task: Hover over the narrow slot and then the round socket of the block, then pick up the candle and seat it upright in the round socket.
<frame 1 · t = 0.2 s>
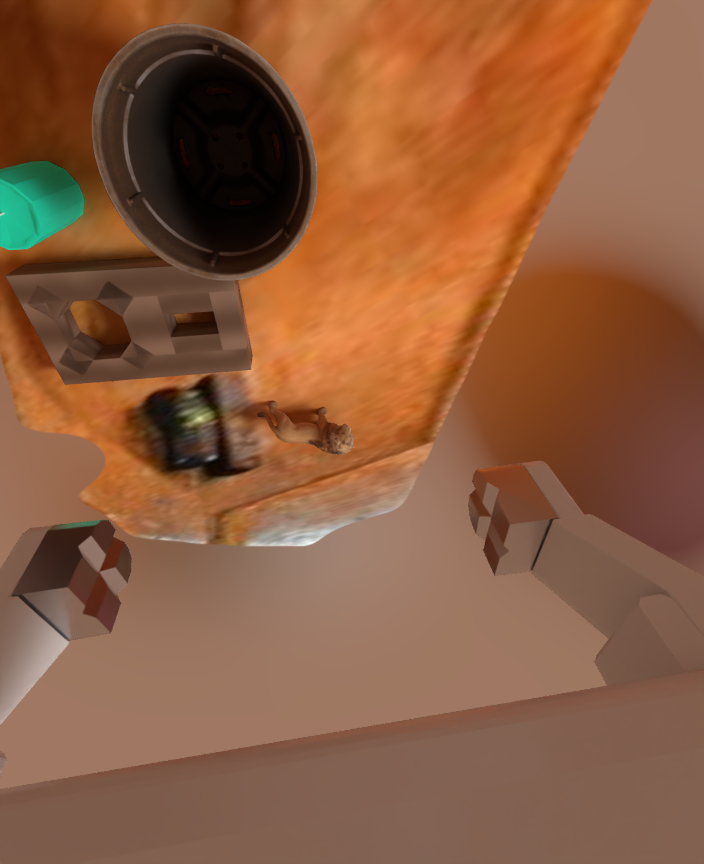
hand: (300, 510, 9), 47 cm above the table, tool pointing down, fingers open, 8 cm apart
socket block: (149, 314, 53), on the table
plant pot: (232, 153, 44), on the table
lion figurine: (307, 411, 66), on the table
candle: (54, 193, 44), on the table
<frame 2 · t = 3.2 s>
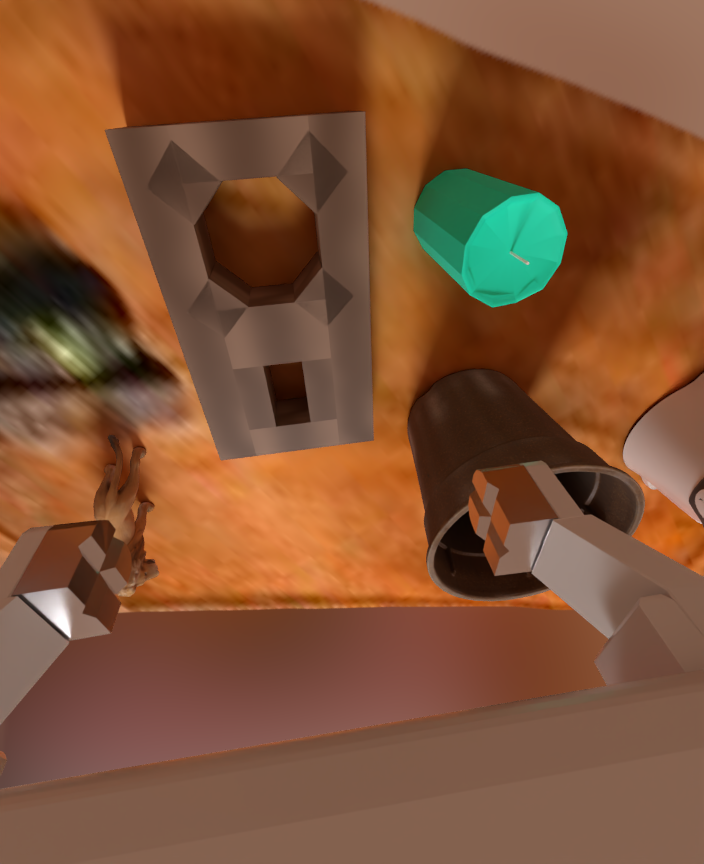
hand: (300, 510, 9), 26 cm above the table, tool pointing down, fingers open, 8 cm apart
socket block: (276, 306, 33), on the table
plant pot: (459, 417, 43), on the table
lion figurine: (137, 487, 43), on the table
candle: (450, 214, 30), on the table
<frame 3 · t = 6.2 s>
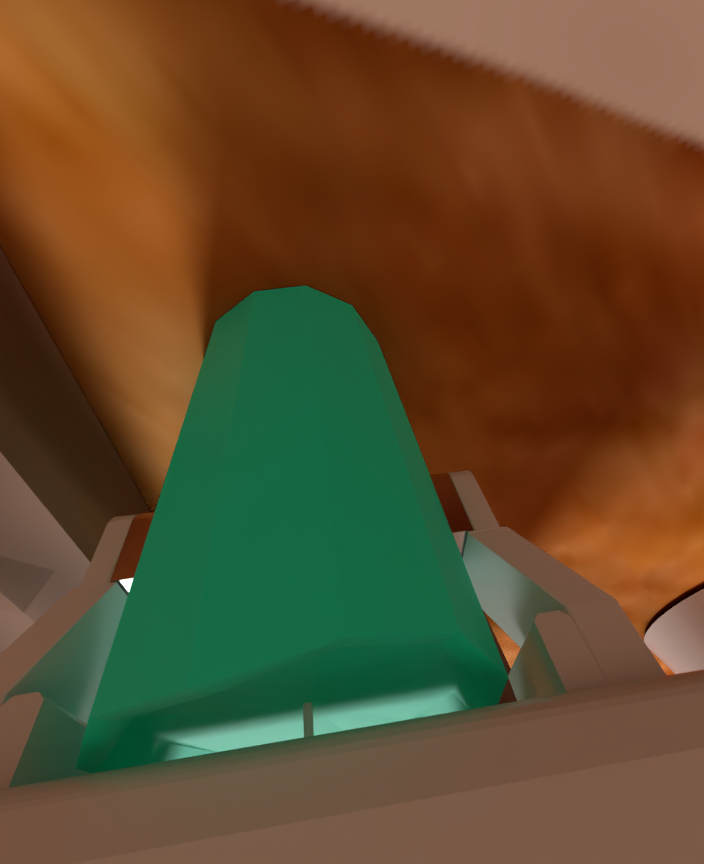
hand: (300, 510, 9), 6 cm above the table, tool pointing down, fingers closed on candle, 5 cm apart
plant pot: (383, 622, 27), on the table
candle: (295, 369, 14), on the table, touching gripper
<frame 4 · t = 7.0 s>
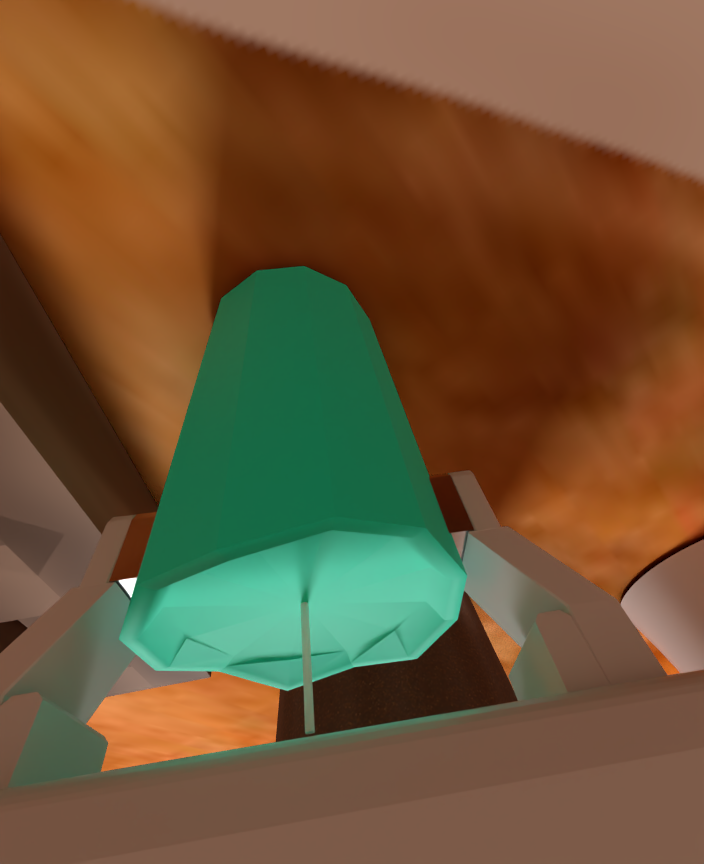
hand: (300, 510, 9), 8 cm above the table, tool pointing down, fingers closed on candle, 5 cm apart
plant pot: (370, 595, 29), on the table
candle: (293, 344, 15), on the table, touching gripper
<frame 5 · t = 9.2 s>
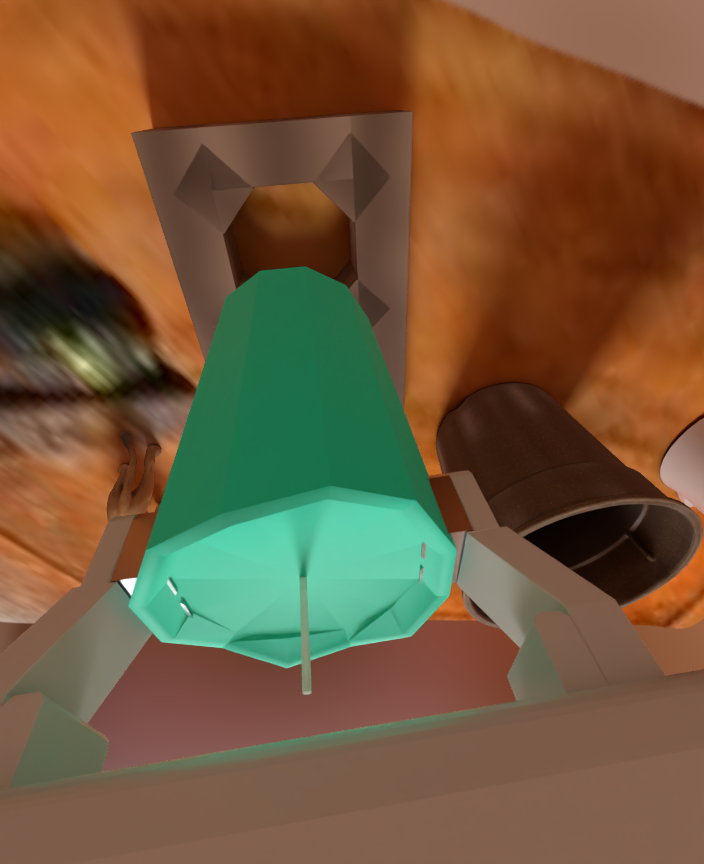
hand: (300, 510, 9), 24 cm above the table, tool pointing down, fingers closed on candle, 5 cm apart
socket block: (304, 317, 31), on the table
plant pot: (491, 431, 41), on the table
lion figurine: (154, 488, 41), on the table
candle: (295, 343, 16), point 15 cm above the table, touching gripper
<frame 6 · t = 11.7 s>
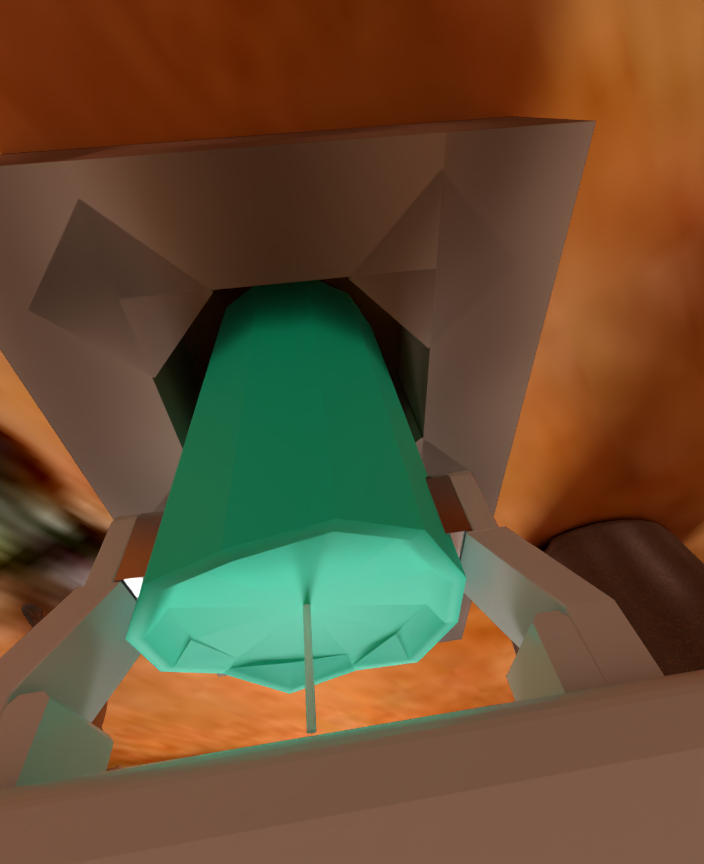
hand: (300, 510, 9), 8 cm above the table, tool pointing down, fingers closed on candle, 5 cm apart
socket block: (315, 456, 19), on the table
plant pot: (575, 569, 29), on the table
lion figurine: (92, 651, 28), on the table
candle: (296, 352, 16), on the table, touching gripper
when the fingers open (8 cm above the table, at t = 11.9 s): candle stays where it is, on the table.
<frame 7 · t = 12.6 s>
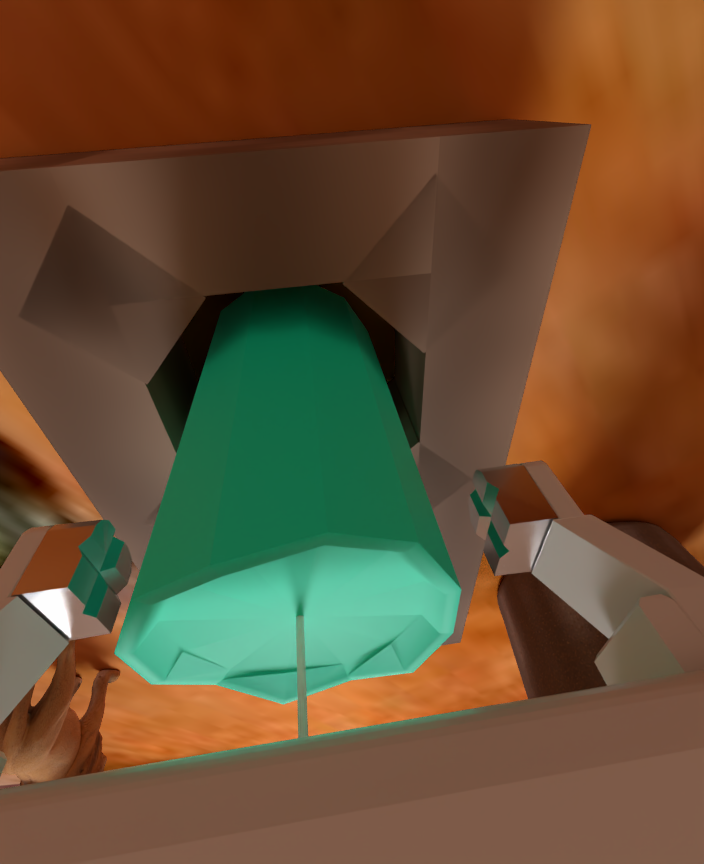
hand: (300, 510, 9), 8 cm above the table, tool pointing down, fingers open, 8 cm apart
socket block: (312, 460, 19), on the table
plant pot: (574, 571, 29), on the table
lion figurine: (89, 654, 27), on the table
candle: (292, 356, 15), on the table
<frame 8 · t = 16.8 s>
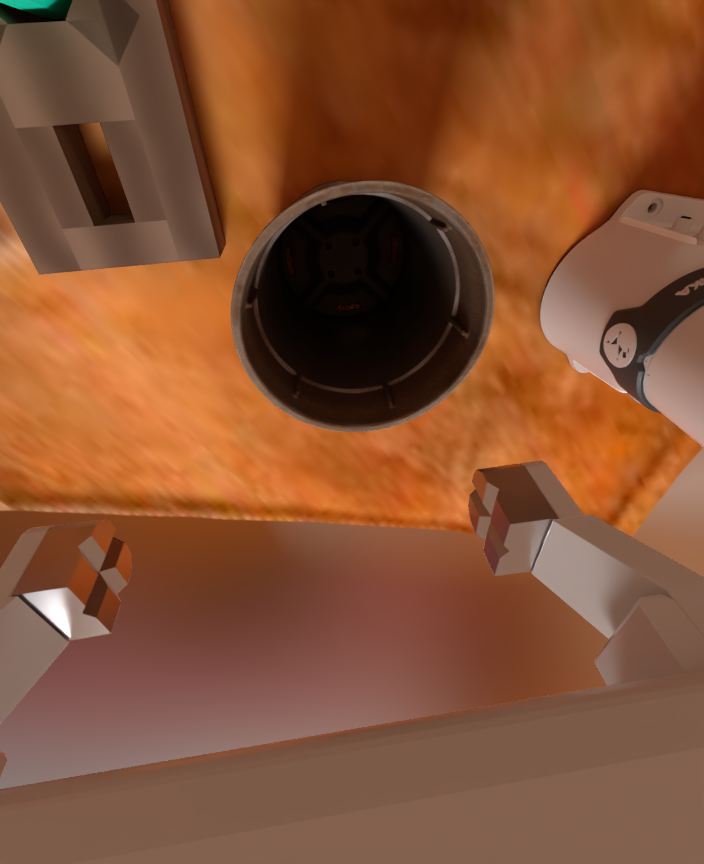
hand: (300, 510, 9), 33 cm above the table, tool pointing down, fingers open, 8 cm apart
socket block: (78, 66, 28), on the table
plant pot: (339, 256, 38), on the table
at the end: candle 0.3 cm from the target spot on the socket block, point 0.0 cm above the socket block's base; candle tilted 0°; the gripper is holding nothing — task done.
